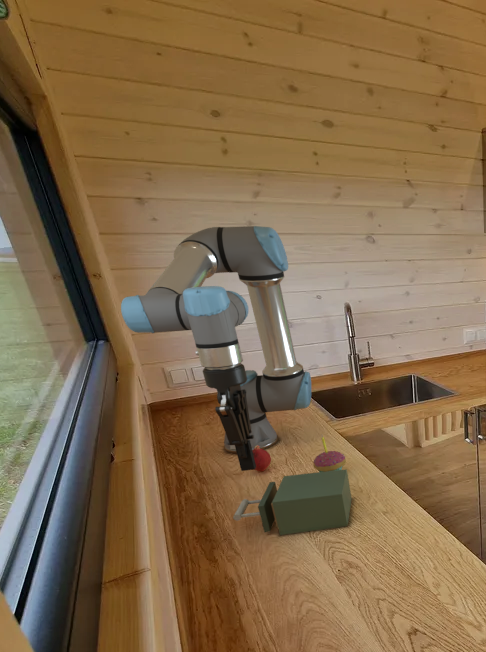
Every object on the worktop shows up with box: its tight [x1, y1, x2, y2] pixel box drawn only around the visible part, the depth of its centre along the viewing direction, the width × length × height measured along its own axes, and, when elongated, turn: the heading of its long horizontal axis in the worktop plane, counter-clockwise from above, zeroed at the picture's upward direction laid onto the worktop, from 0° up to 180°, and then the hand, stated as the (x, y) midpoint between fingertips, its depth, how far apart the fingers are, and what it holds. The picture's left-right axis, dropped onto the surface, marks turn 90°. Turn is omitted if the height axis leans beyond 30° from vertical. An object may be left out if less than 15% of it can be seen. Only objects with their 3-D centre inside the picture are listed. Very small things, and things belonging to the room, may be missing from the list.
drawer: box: [232, 481, 281, 533], centre depth 114 cm, size 20×11×7 cm, turn 103°
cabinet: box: [272, 469, 353, 536], centre depth 115 cm, size 15×13×9 cm
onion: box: [252, 445, 272, 473], centre depth 138 cm, size 6×6×8 cm
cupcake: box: [313, 435, 347, 472], centre depth 133 cm, size 9×8×12 cm
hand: (248, 468), depth 109 cm, fingers closed
